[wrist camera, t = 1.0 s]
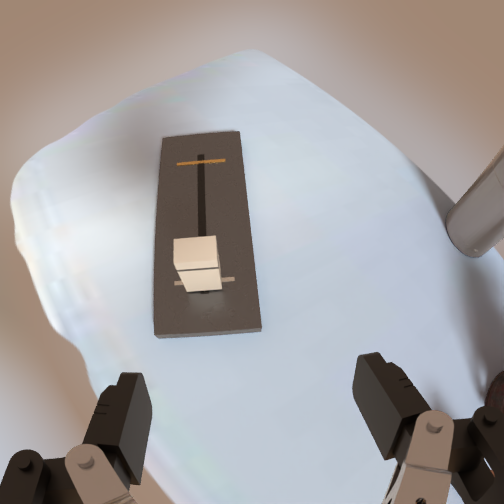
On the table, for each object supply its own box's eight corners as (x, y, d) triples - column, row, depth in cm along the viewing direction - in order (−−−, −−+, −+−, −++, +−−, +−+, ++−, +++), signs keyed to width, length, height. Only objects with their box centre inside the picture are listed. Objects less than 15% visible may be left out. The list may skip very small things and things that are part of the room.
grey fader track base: (260, 331, 37) (261, 327, 35) (158, 338, 36) (154, 334, 34) (239, 140, 50) (239, 130, 48) (165, 146, 49) (162, 137, 47)
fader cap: (222, 289, 37) (217, 260, 29) (186, 291, 36) (173, 263, 29) (220, 268, 38) (215, 235, 30) (186, 271, 37) (173, 238, 30)
